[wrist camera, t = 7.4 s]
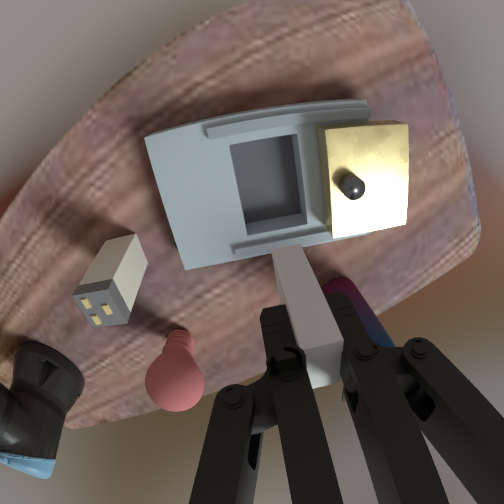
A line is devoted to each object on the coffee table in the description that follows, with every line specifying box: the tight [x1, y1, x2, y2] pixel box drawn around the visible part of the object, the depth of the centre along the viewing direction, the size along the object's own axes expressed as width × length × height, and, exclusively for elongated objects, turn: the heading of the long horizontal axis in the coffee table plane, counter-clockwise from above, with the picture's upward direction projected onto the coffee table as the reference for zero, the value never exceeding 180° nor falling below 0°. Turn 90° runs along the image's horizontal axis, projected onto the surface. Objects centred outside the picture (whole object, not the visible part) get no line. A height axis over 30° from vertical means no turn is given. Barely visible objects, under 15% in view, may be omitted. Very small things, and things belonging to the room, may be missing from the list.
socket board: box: [144, 99, 374, 270], centre depth 27 cm, size 20×14×4 cm
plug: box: [73, 233, 148, 328], centre depth 27 cm, size 4×4×10 cm
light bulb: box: [145, 330, 204, 412], centre depth 34 cm, size 7×7×12 cm
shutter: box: [316, 120, 409, 238], centre depth 24 cm, size 8×10×4 cm
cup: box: [322, 278, 396, 347], centre depth 31 cm, size 7×7×15 cm
